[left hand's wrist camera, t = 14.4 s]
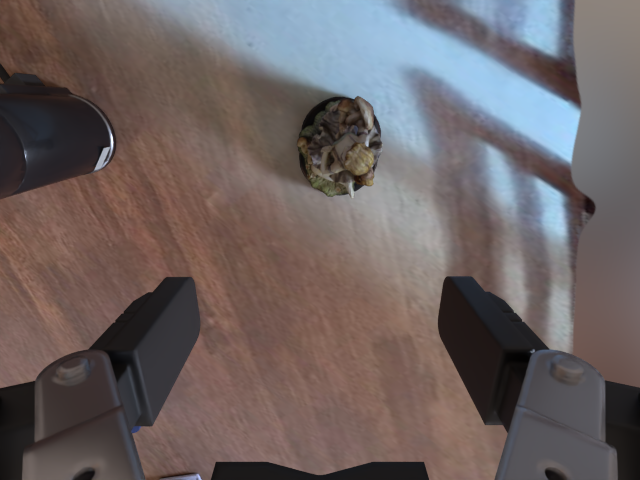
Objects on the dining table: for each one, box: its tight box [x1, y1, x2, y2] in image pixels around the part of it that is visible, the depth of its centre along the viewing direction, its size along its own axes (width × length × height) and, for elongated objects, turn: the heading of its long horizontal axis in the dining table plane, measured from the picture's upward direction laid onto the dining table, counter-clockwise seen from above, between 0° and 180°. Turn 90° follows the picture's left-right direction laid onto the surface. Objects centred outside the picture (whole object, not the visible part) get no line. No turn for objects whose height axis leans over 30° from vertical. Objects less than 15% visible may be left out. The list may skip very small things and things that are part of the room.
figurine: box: [297, 96, 383, 198], centre depth 37 cm, size 12×11×15 cm
